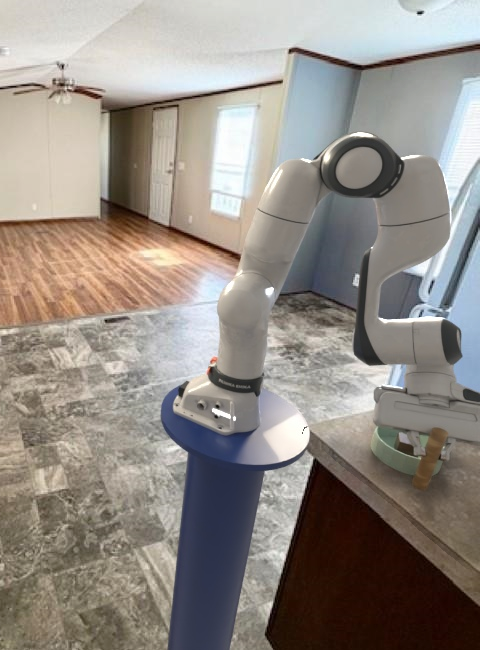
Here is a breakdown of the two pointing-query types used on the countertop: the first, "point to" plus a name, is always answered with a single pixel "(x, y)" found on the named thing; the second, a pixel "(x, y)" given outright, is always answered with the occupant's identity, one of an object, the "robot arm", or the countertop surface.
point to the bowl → (386, 453)
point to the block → (404, 444)
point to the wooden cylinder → (429, 458)
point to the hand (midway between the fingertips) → (431, 458)
